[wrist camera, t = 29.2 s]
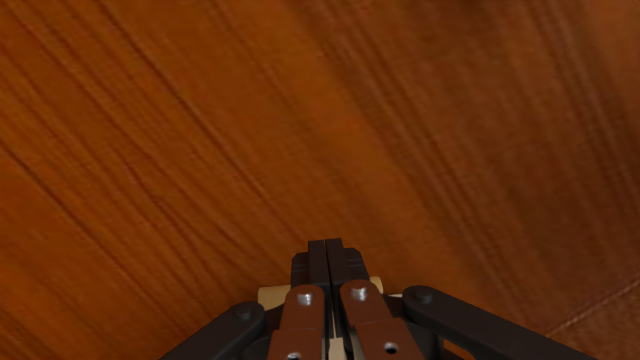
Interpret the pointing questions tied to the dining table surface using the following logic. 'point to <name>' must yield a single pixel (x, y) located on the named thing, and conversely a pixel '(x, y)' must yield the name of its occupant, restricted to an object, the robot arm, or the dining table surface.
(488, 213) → the dining table surface
